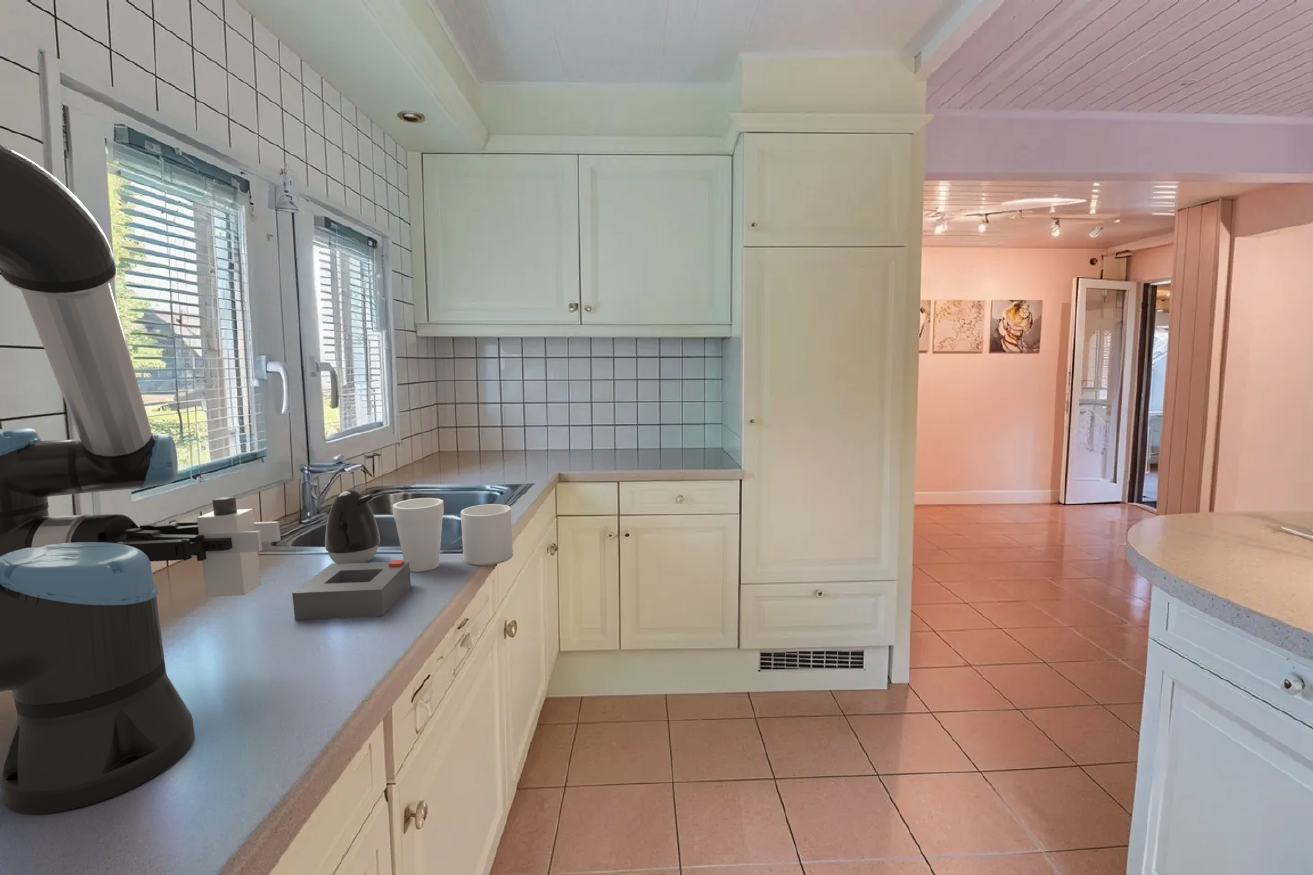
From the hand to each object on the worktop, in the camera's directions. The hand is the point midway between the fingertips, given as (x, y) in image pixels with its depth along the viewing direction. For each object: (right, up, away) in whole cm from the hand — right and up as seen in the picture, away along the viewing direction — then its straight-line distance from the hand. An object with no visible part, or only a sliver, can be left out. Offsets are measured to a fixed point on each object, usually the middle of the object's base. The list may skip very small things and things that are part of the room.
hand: (268, 536), depth 87 cm
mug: (+18, -12, +46) cm, 51 cm away
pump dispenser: (-9, -12, +44) cm, 47 cm away
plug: (-5, -8, +1) cm, 9 cm away
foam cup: (+6, -13, +40) cm, 43 cm away
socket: (+1, -15, +23) cm, 27 cm away
